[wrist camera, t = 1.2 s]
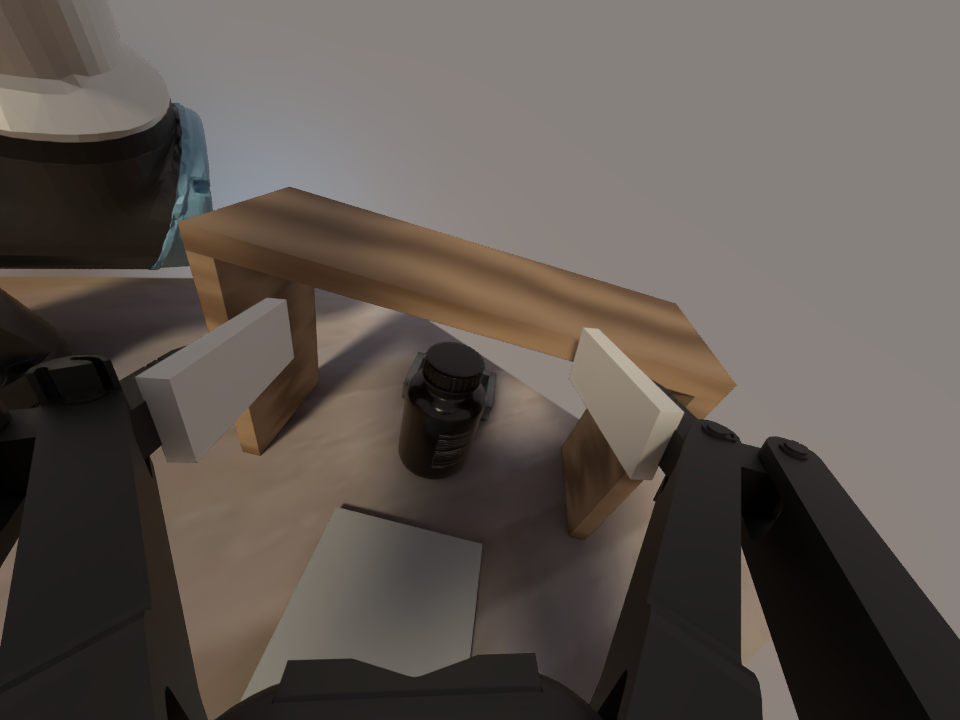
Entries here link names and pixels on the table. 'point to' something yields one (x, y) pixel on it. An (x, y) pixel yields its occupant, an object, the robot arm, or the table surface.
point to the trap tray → (486, 382)
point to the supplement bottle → (442, 411)
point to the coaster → (378, 600)
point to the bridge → (437, 313)
